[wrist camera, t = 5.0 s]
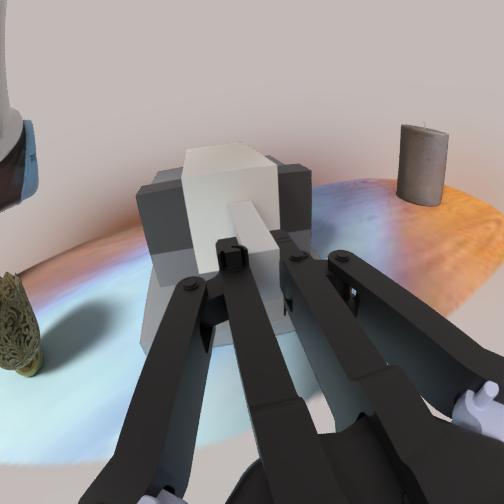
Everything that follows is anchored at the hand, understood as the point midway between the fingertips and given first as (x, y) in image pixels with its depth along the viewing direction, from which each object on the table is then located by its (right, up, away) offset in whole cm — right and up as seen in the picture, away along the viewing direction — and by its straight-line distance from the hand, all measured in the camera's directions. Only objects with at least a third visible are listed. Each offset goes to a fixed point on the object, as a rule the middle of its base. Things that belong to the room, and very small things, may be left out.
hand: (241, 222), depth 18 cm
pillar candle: (+33, +8, +28) cm, 44 cm away
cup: (-19, -12, -1) cm, 23 cm away
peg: (-1, 0, +8) cm, 8 cm away
